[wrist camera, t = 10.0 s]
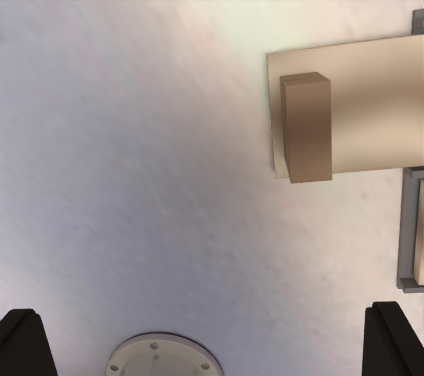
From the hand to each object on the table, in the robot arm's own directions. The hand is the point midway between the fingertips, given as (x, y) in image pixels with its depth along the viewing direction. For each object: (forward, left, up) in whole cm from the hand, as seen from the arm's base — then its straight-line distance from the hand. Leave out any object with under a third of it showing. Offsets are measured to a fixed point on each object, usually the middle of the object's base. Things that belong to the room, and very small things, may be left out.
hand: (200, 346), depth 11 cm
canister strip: (+2, -14, -21) cm, 26 cm away
